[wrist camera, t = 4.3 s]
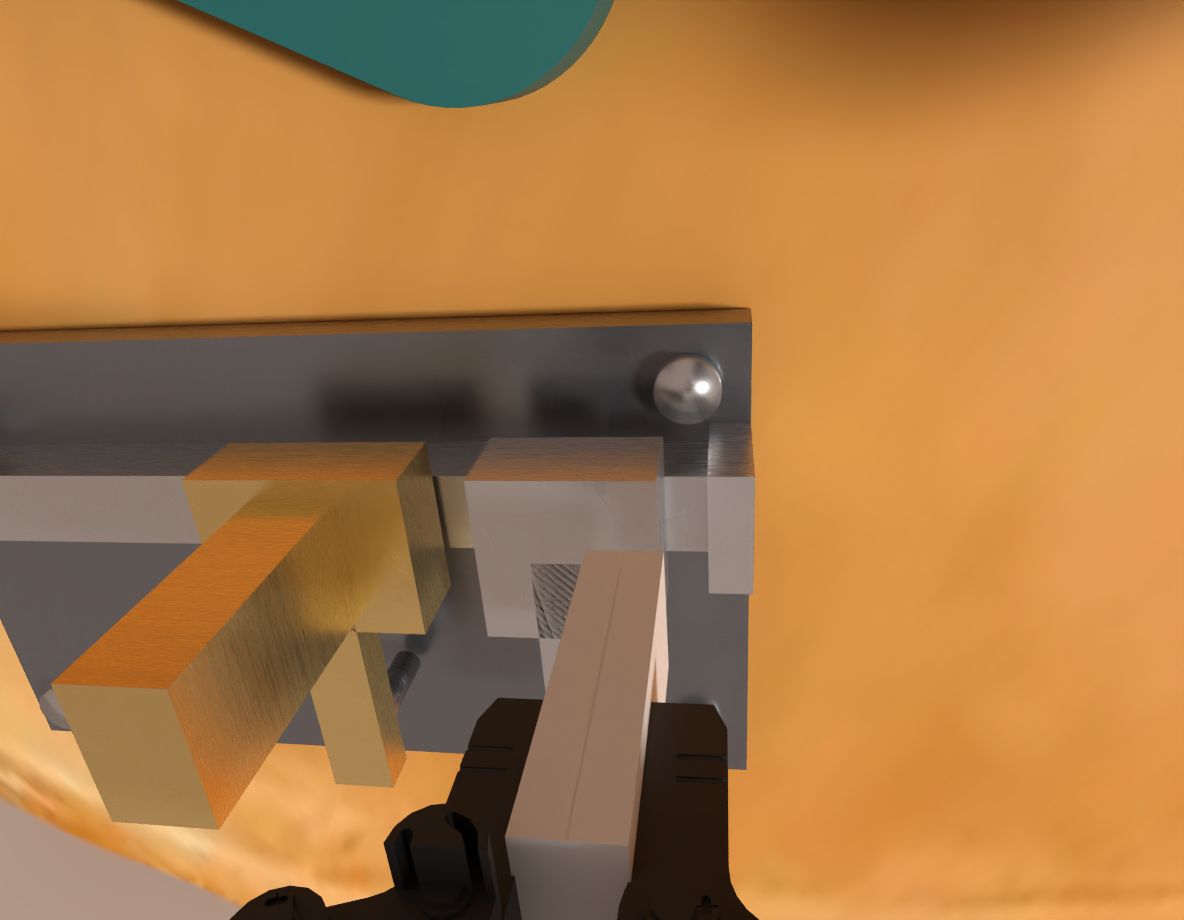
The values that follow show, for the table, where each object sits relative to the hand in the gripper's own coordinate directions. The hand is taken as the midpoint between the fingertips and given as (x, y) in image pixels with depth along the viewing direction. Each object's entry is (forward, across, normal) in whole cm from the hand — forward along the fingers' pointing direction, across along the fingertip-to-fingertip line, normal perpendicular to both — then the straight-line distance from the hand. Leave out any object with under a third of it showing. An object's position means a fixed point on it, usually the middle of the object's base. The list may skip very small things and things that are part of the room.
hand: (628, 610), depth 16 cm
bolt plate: (+7, -10, -3) cm, 12 cm away
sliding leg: (+5, -8, -2) cm, 9 cm away
